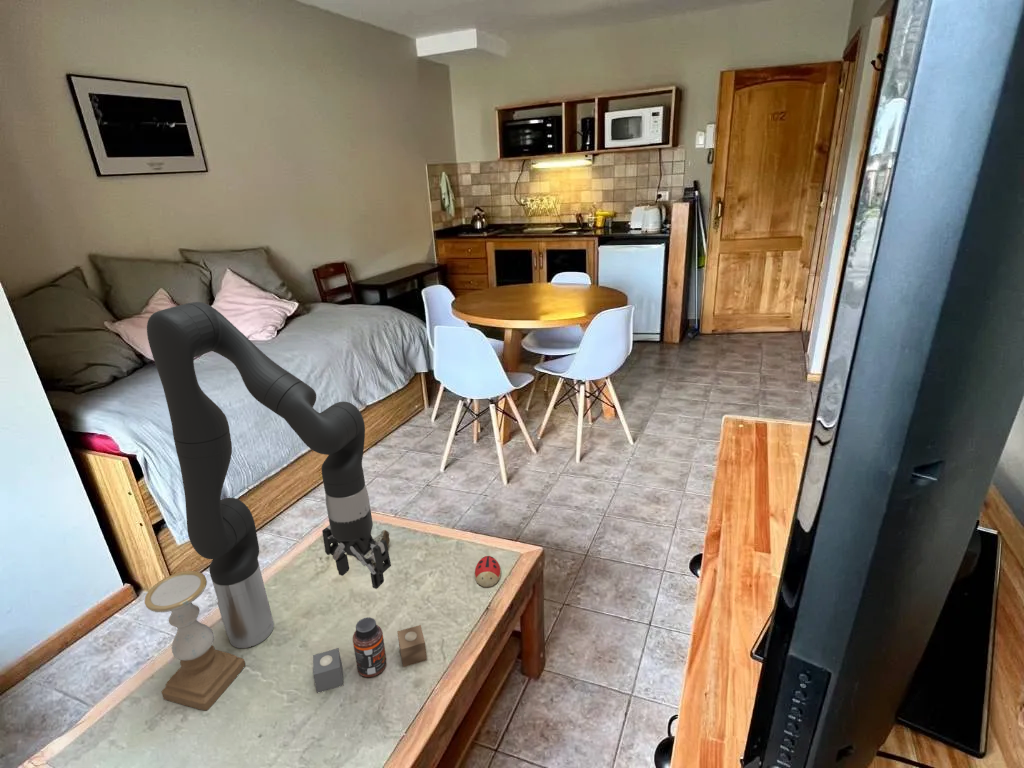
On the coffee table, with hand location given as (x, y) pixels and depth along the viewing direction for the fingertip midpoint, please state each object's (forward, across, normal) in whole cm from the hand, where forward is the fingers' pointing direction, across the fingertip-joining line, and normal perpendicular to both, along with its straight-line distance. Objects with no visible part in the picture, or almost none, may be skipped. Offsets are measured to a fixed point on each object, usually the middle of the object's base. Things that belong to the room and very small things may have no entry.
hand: (361, 579), depth 105 cm
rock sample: (+22, -24, +27) cm, 42 cm away
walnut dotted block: (+22, +6, +5) cm, 24 cm away
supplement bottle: (+22, 0, -1) cm, 22 cm away
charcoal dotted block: (+22, -6, -7) cm, 24 cm away
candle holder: (+22, -29, -18) cm, 41 cm away
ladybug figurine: (+23, +8, +34) cm, 41 cm away
